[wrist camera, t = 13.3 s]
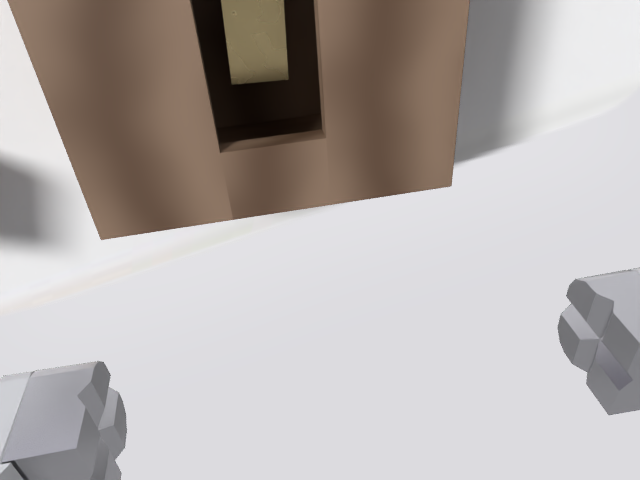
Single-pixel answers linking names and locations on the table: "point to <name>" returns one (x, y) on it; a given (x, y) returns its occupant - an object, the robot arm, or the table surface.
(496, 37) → the table surface
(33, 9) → the slot box
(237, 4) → the tan rectangular block
